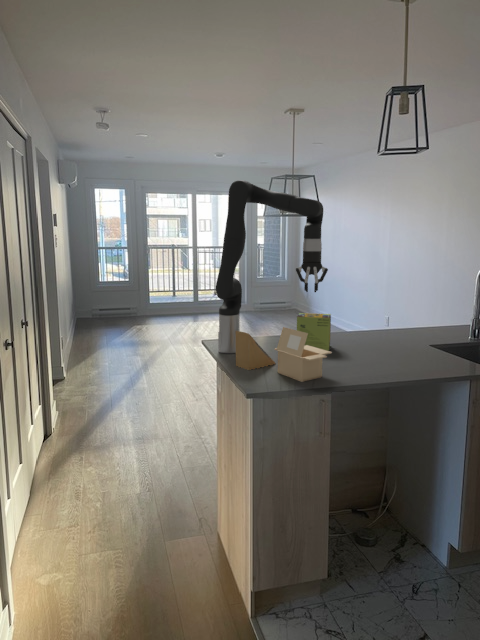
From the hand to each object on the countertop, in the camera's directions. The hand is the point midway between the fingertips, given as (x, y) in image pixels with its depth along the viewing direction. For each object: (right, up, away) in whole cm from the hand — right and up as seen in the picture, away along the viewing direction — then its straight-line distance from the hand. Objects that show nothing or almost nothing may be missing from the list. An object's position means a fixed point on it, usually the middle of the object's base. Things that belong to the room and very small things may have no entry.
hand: (311, 291), depth 203 cm
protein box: (+5, -25, +27) cm, 37 cm away
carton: (-5, -33, -15) cm, 36 cm away
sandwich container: (-23, -31, -2) cm, 38 cm away
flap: (-10, -20, -21) cm, 31 cm away
